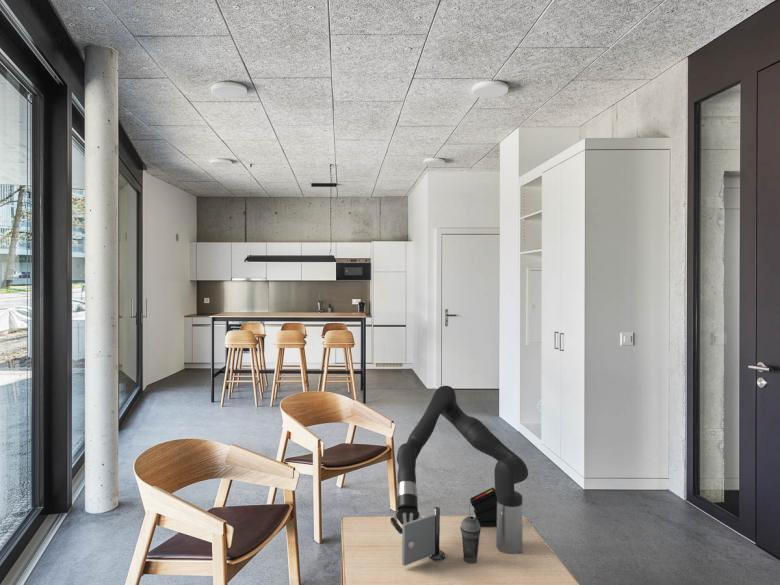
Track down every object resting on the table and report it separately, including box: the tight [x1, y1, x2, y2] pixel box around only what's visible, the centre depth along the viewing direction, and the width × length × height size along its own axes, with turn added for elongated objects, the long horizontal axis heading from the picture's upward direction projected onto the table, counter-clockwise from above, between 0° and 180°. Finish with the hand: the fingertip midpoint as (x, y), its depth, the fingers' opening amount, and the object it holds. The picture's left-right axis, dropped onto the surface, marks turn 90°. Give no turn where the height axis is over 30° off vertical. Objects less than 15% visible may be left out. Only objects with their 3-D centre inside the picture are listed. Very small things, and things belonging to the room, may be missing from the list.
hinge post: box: [427, 506, 446, 562], centre depth 201 cm, size 6×6×18 cm
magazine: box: [469, 486, 497, 528], centre depth 227 cm, size 4×13×15 cm, turn 93°
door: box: [401, 513, 435, 567], centre depth 196 cm, size 14×2×14 cm, turn 127°
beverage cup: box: [459, 502, 482, 565], centre depth 198 cm, size 7×7×20 cm
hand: (408, 545), depth 195 cm, fingers closed
